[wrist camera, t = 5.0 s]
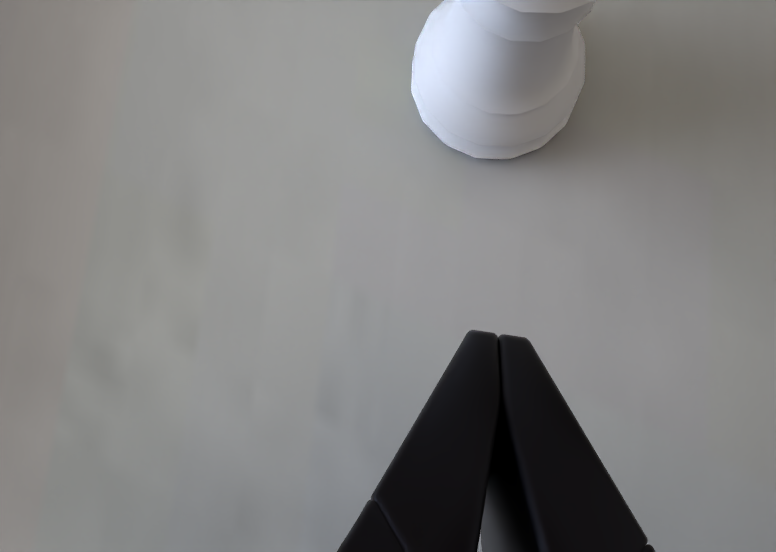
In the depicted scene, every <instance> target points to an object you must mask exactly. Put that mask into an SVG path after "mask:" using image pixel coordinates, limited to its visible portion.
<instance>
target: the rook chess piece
mask: <svg viewBox="0 0 776 552" xmlns="http://www.w3.org/2000/svg"><path fill="white" fill-rule="evenodd" d="M595 1H596V0H444V1H443V2H442V3H441V4H440V5H439V6H438V7H437V8H435V9H434V10H433V11H432V13H431V14H430V16H429V17H428V20H427V22H426V24H425V26H424V28H423V30H422V32H421V34H420V36H419V38H418V40H417V43H416V45H415V55H414V57H413V61H412V85H411V92H412V95H413V97H414V100H415V102H416V105H417V108H418V110H419V113H420V115H421V118H422V121H423V122H424V123H425V124H426V125H427V126H428V127H429V128H430V129H431V130H432V131H433V132H434V133H435V134H436V136H437V137H438V138H439V139H440V140H441V141H442V142H443V143H444V144H445V145H447V146H449V147H452V148H454V149H456V150H458V151H461V152H463V153H465V154H468V155H470V156H472V157H474V158H486V159H512V158H514V157H517V156H520V155H523V154H525V153H528V152H531V151H533V150H536V149H539V148H541V147H542V146H544V145H545V144H546V143H547V142H548V141H549V140H550V139H551V138H552V137H553V136H554V135H556V134H557V133H558V132H559V131H560V130H561V129H562V128H563V127H564V126H565V125H566V123H567V121H568V119H569V116H570V114H571V112H572V110H573V108H574V105H575V103H576V101H577V99H578V97H579V94H580V92H581V89H582V87H583V85H584V83H585V42H584V40H583V37H582V35H581V32H580V30H579V28H578V25H577V24H578V23H579V22H580V21H581V20H582V19H583V18H584V17H585V16H586V15H587V14H589V13H590V12H591V9H592V7H593V5H594V3H595Z"/></svg>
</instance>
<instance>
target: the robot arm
mask: <svg viewBox="0 0 776 552" xmlns="http://www.w3.org/2000/svg"><path fill="white" fill-rule="evenodd" d="M480 530H481V543H482V552H655V550H654V549H653V547H652V546H651V545H649V544H647V542H648V540H647V537H646V536H645V534H644V532H643V531H642V529H641V527H640V526H639V524H638V522H637V520H636V519H635V517H634V515H633V514H632V512H631V510H630V509H629V507H628V505H627V504H626V502H625V500H624V499H623V497H622V495H621V494H620V492H619V490H618V489H617V487H616V485H615V484H614V482H613V480H612V479H611V477H610V475H609V474H608V472H607V470H606V468H605V467H604V465H603V463H602V462H601V460H600V458H599V457H598V455H597V453H596V452H595V450H594V448H593V447H592V445H591V443H590V442H589V440H588V438H587V437H586V435H585V433H584V432H583V430H582V428H581V427H580V425H579V423H578V421H577V420H576V418H575V416H574V415H573V413H572V411H571V410H570V408H569V406H568V405H567V403H566V401H565V400H564V398H563V396H562V395H561V393H560V391H559V390H558V388H557V386H556V385H555V383H554V381H553V380H552V378H551V376H550V374H549V373H548V371H547V369H546V368H545V366H544V364H543V363H542V361H541V359H540V358H539V356H538V354H537V353H536V351H535V349H534V348H533V346H532V344H531V343H530V341H529V340H528V339H527V338H524V337H518V336H511V335H500V336H499V337H497V335H496V334H495V333H490V332H483V331H477V330H471V331H469V332H468V333H467V334H466V336H465V338H464V340H463V341H462V343H461V345H460V346H459V348H458V350H457V351H456V353H455V355H454V357H453V358H452V360H451V362H450V363H449V365H448V367H447V368H446V370H445V372H444V374H443V375H442V377H441V379H440V380H439V382H438V384H437V386H436V387H435V389H434V391H433V392H432V394H431V396H430V397H429V399H428V401H427V403H426V404H425V406H424V408H423V409H422V411H421V413H420V414H419V416H418V418H417V420H416V421H415V423H414V425H413V426H412V428H411V430H410V431H409V433H408V435H407V437H406V438H405V440H404V442H403V443H402V445H401V447H400V448H399V450H398V452H397V454H396V455H395V457H394V459H393V460H392V462H391V464H390V465H389V467H388V469H387V471H386V472H385V474H384V476H383V477H382V479H381V481H380V482H379V484H378V486H377V488H376V489H375V491H374V493H373V494H372V496H371V500H369V501H368V502H367V504H366V506H365V507H364V509H363V511H362V512H361V514H360V516H359V517H358V519H357V521H356V522H355V524H354V526H353V527H352V529H351V530H350V532H349V533H348V535H347V537H346V538H345V540H344V541H343V543H342V544H341V546H340V548H339V549H338V551H337V552H477V548H478V542H479V536H480ZM646 544H647V545H646ZM645 545H646V546H645Z"/></svg>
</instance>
